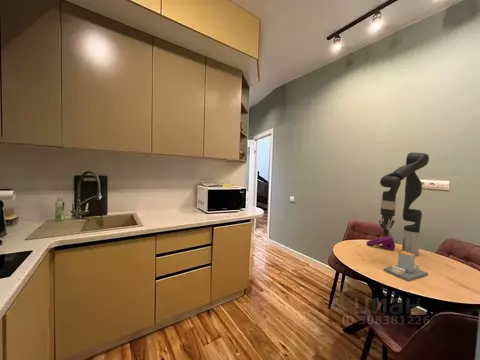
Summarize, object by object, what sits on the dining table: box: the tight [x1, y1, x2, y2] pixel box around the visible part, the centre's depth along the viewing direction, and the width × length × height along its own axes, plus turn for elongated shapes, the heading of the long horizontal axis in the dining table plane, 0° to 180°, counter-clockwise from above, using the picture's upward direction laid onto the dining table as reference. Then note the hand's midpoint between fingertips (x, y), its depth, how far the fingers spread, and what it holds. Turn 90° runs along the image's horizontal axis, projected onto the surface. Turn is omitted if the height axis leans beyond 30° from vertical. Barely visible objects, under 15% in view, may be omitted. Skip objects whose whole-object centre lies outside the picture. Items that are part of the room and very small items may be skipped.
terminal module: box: [397, 250, 416, 273], centre depth 126 cm, size 5×6×10 cm
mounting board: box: [383, 263, 429, 282], centre depth 126 cm, size 20×13×5 cm, turn 116°
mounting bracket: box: [366, 235, 396, 252], centre depth 171 cm, size 10×8×18 cm
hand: (385, 235), depth 137 cm, fingers closed
